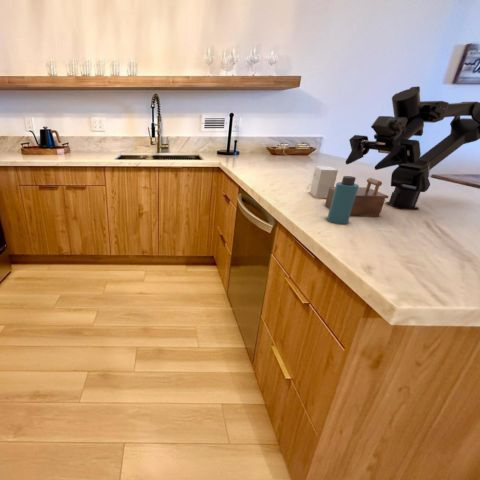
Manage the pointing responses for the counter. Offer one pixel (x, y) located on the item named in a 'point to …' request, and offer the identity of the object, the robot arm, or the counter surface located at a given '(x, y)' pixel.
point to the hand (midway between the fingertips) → (360, 165)
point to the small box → (322, 181)
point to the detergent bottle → (343, 200)
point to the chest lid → (368, 190)
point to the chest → (361, 205)
